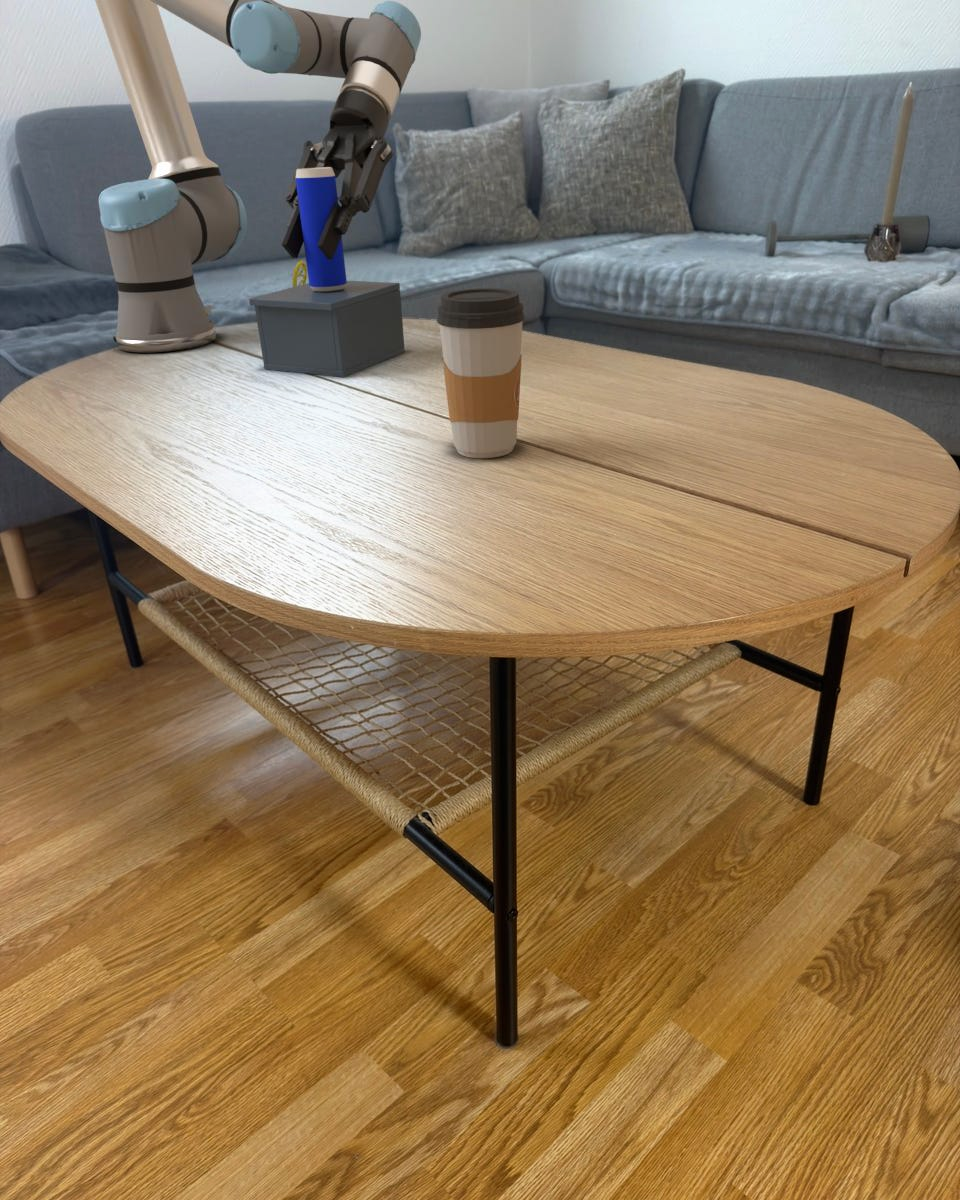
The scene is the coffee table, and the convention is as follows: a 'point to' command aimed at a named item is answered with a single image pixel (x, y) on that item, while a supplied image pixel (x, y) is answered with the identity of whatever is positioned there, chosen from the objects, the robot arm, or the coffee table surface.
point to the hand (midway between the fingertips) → (307, 251)
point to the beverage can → (319, 227)
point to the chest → (331, 336)
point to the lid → (324, 296)
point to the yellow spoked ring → (299, 273)
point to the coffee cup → (482, 368)
